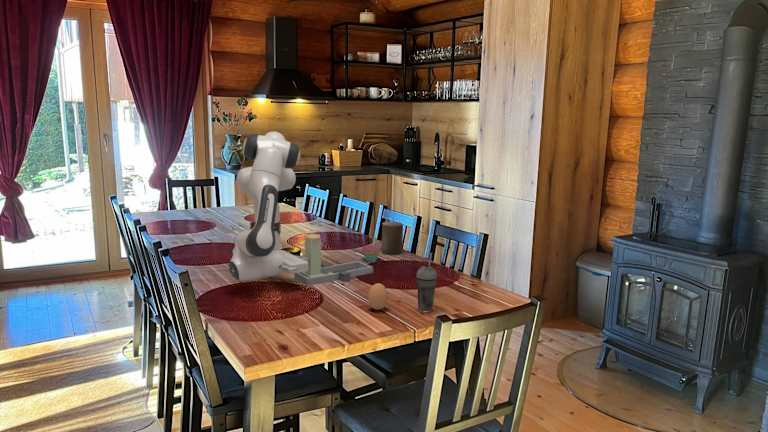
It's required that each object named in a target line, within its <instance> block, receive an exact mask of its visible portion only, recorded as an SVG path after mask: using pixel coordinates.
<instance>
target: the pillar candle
mask: <svg viewBox="0 0 768 432" xmlns="http://www.w3.org/2000/svg"><path fill="white" fill-rule="evenodd" d="M381 228H382V230H381V253H382V254H385V255H391V256H396V255H401V254H403V244H404V243H403V241H404V240H403V237H404V223H402V222H399V221H385V222H382V227H381Z"/></svg>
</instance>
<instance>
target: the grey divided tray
mask: <svg viewBox="0 0 768 432" xmlns="http://www.w3.org/2000/svg"><path fill="white" fill-rule="evenodd" d="M302 273H303V272H301V273H293V274H294V279H295V280H297V281H299V282H300V283H303V284H304V285H306V286H313V285H317V284H322V283H323V284H324V283H329V282H333V281H341V282H343V283H345V282H346V283H347V282H350V281H351V278H354V277H358V276H364V275H370V274H373V273H374V266H372V265H369V264H368V263H364V262H362V261H359V260H357V261H351V262H345V263H339V264H334V265H333V264H330V263H328V262H323V263H322V262H321V273H322V274H324V275H322V276H316V277H311V278H308V277H306V276H305V275H303V274H302Z"/></svg>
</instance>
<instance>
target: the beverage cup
mask: <svg viewBox="0 0 768 432" xmlns="http://www.w3.org/2000/svg"><path fill="white" fill-rule="evenodd" d="M432 255H433V252H430V255H429V260H428V265H427V264H425V265H422V266H421V267H419V268H418V269H417V272H416V275H415V279H416V286H417V287H416V289H417V306H418V308H417V309H418V311H419V310H421V311H431V310H432V311H433V306H434V299H435V290H436V285H437V280H438V273H437V271H436V269H435V268H434V267H433V266H431V262H432V257H433V256H432ZM432 311H431V312H432Z"/></svg>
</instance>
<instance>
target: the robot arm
mask: <svg viewBox="0 0 768 432" xmlns="http://www.w3.org/2000/svg"><path fill="white" fill-rule="evenodd" d="M242 152H243V156H244V158H246V159H248V160H249V161H251V162H253V165H252V166H247V167H244V168H243V167H242V168H241V169H240V170H239V171H238V172H237V174H236V183H237V184H236V185H237V186H238V187H239V189H240V190H241V191H243V192H244V193H245V194H246V195H247V196H248V197H249V198H250V200H251V202H252V206H253V211H254V212H253V213H254V220H253V219H252V220H250V222H249V229H245V230H243V231H240V232H239V233H238V234H236V236H235V238H234V248H233V249H232V252H231V253H233V254H232V257H231V259H230V261H229V263H228V266H229V267H228V268H229V272H230V275H231V276H232V277H233V278H234V279H235V280H237V281H240V282H246V281H254V280H258V279H261V278H270V277H275V276H276V277H278V276H281V275H283V272H286V273H288V274H294V273H301V272H307V271H308V261H309V258H308V257H306V256H305V255H294V254H292V253H290V252H288V251H285V250H284V248H283V245H282V240H281V232H282V224H281V221H280V204H279V203H278V200H279V198H278V197H279V192H282V191H287V190H291V189H292V188H293V187H294V186H295V184H296V181H297V179H296V178H297V177H296V174H295V173H296V172H295V171H294V170H293V169H294V168H295V167H296V166H297V165H298V163H299V161H300V160H301V150H300V147H299V145H298V144H296V143H294V142H293V141H291V142H290V141H288V140H286V138H285V136H284V135H283V134H282V133H280V132H278V131H269V132H267V133H265V135H261V134H258V133H249V135H247V137H246V138H245V139H244V142H243V143H242ZM281 249H283V250H281Z"/></svg>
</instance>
